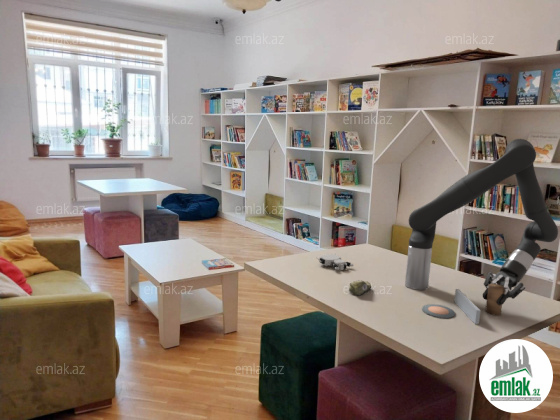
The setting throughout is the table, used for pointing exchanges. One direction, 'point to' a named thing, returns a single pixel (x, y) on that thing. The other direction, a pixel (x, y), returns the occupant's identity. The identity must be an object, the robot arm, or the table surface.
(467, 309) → the acrylic wall
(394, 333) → the table surface
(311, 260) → the table surface
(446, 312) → the mat
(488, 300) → the walnut pin
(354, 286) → the rock
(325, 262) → the robot toy
